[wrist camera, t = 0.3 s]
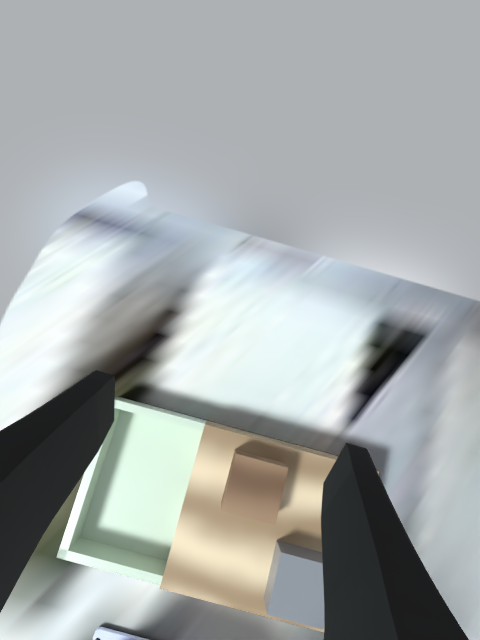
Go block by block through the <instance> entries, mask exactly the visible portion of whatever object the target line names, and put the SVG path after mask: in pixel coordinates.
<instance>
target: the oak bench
mask: <svg viewBox="0 0 480 640" xmlns="http://www.w3.org/2000/svg"><path fill="white" fill-rule="evenodd" d="M235 449H237V450H241V451H244V452H248V453H252V454H255V455H259V456H263V457H267V458H270V459H274V460H278V461H281V462H284V463H285V464H286V466H287V467H288V472H287V477H286V481H285V485H284V490H283V494H282V499H281V503H280V507H279V512H278V516H277V521H276V525H272V524H268V523H265V522H261V521H257V520H254V519H250V518H246V517H242V516H239V515H235V514H231V513H228V512H224V511H221V501H222V497H223V493H224V489H225V485H226V481H227V478H228V474H229V470H230V466H231V462H232V458H233V454H234V450H235ZM338 457H339V456H336V455H332V454H329V453H325V452H321V451H318V450H314V449H310V448H306V447H303V446H299V445H295V444H292V443H288V442H284V441H281V440H277V439H273V438H270V437H266V436H262V435H258V434H255V433H251V432H247V431H244V430H240V429H236V428H233V427H229V426H225V425H222V424H218V423H214V422H211V421H207V420H206V423H205V426H204V429H203V433H202V436H201V440H200V444H199V447H198V451H197V455H196V458H195V462H194V465H193V469H192V473H191V476H190V480H189V484H188V487H187V491H186V495H185V498H184V502H183V505H182V509H181V513H180V516H179V520H178V524H177V527H176V531H175V535H174V538H173V542H172V545H171V549H170V553H169V556H168V560H167V564H166V567H165V571H164V575H163V578H162V582H161V585H160V589H163V590H167V591H171V592H175V593H178V594H182V595H186V596H190V597H193V598H197V599H201V600H204V601H208V602H212V603H216V604H219V605H223V606H227V607H231V608H234V609H238V610H242V611H245V612H249V613H253V614H257V615H260V616H264V617H268V618H272V619H275V620H279V621H283V622H286V623H290V624H294V625H298V626H301V627H305V628H309V629H313V630H316V631H320V632H324V629H319V628H315V627H311V626H308V625H304V624H300V623H297V622H293V621H289V620H285V619H282V618H278V617H274V616H270V615H267V612H266V607H265V602H264V594H265V589H266V585H267V580H268V576H269V571H270V567H271V563H272V558H273V554H274V549H275V545H276V540H278V541H282V542H286V543H289V544H293V545H297V546H300V547H304V548H308V549H312V550H315V551H319V552H322V537H321V508H322V494H323V483H324V481H325V479H326V477H327V476H328V474H329V472H330V470H331V469H332V467H333V465H334V463H335V462H336V460H337V458H338ZM377 472H378V475H379V471H377ZM324 625H325V624H324Z"/></svg>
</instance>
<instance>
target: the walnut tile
mask: <svg viewBox="0 0 480 640" xmlns="http://www.w3.org/2000/svg"><path fill="white" fill-rule="evenodd" d="M287 472H288V467H287V466H286V464H285V463H284V462H281V461H278V460H274V459H270V458H267V457H263V456H259V455H255V454H252V453H248V452H244V451H241V450H237V449H235V450H234V454H233V458H232V462H231V466H230V470H229V474H228V478H227V481H226V485H225V489H224V493H223V497H222V501H221V511H224V512H228V513H231V514H235V515H239V516H242V517H246V518H250V519H254V520H257V521H261V522H265V523H268V524H272V525H276V521H277V516H278V512H279V507H280V503H281V499H282V494H283V490H284V485H285V481H286V477H287Z"/></svg>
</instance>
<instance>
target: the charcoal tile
mask: <svg viewBox="0 0 480 640" xmlns="http://www.w3.org/2000/svg"><path fill="white" fill-rule="evenodd" d="M264 602H265V607H266V612H267V615H270V616H274V617H278V618H282V619H285V620H289V621H293V622H297V623H300V624H304V625H308V626H311V627H315V628H319V629H324V585H323V561H322V552H319V551H315V550H312V549H308V548H304V547H300V546H297V545H293V544H289V543H286V542H282V541H278V540H276V545H275V549H274V554H273V558H272V563H271V567H270V571H269V576H268V580H267V585H266V589H265V594H264Z"/></svg>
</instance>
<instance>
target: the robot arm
mask: <svg viewBox="0 0 480 640" xmlns="http://www.w3.org/2000/svg"><path fill="white" fill-rule="evenodd" d="M114 403H115V376H114V375H111V374H107V373H104V372H100V371H97V370H96V371H94V372H92V373H90V374H89V375H87V376H86V377H84V378H83V379H81V380H80V381H79V382H77V383H76V384H74V385H73V386H71V387H70V388H68V389H67V390H65V391H64V392H62V393H61V394H59V395H58V396H56V397H55V398H53V399H52V400H50V401H49V402H47V403H45V404H44V405H42V406H41V407H39V408H37V409H36V410H34V411H33V412H31V413H30V414H28V415H26V416H25V417H23V418H22V419H20V420H18V421H16V422H15V423H13V424H11V425H10V426H8V427H6V428H4V429H3V430H1V431H0V612H1V610H2V609H3V607H4V605H5V603H6V601H7V599H8V597H9V595H10V594H11V592H12V590H13V588H14V586H15V584H16V582H17V581H18V579H19V577H20V575H21V573H22V571H23V569H24V568H25V566H26V564H27V562H28V561H29V559H30V557H31V555H32V553H33V552H34V550H35V548H36V546H37V544H38V543H39V541H40V539H41V537H42V535H43V534H44V532H45V531H46V529H47V527H48V526H49V524H50V523H51V521H52V519H53V518H54V517H55V515H56V514H57V512H58V511H59V509H60V508H61V506H62V505H63V503H64V502H65V500H66V499H67V497H68V496H69V494H70V493H71V491H72V490H73V488H74V487H75V485H76V484H77V482H78V481H79V480H80V478H81V477H82V475H83V474H84V472H85V471H86V469H87V468H88V466H89V465H90V463H91V462H92V460H93V459H94V457H95V456H96V454H97V453H98V451H99V449H100V447H101V445H102V443H103V442H104V440H105V438H106V436H107V434H108V432H109V430H110V428H111V426H112V424H113V422H114ZM321 537H322V561H323V585H324V624H325V625H324V640H469V639H468V638H467V636H466V635H465V633H464V632H463V630H462V629H461V627H460V626H459V624H458V622H457V621H456V619H455V618H454V616H453V614H452V613H451V611H450V610H449V608H448V606H447V605H446V603H445V601H444V600H443V598H442V596H441V595H440V593H439V591H438V590H437V588H436V586H435V585H434V583H433V581H432V579H431V578H430V576H429V574H428V572H427V571H426V569H425V567H424V565H423V563H422V561H421V560H420V558H419V556H418V554H417V552H416V551H415V549H414V547H413V545H412V543H411V541H410V539H409V537H408V535H407V533H406V531H405V529H404V527H403V525H402V523H401V521H400V519H399V517H398V515H397V513H396V511H395V509H394V507H393V505H392V503H391V501H390V499H389V496H388V494H387V492H386V490H385V488H384V486H383V483H382V481H381V479H380V477H379V475H378V472H377V470H376V468H375V466H374V463H373V461H372V459H371V457H370V454H369V452H368V450H367V449H365V448H362V447H358V446H355V445H352V444H348V443H346V444H345V446H344V448H343V450H342V451H341V453H340V455H339V457H338V458H337V460H336V462H335V463H334V465H333V467H332V469H331V470H330V472H329V474H328V476H327V477H326V479H325V481H324V483H323V494H322V508H321ZM96 638H100V640H149V639H146V638H142V637H138V636H134V635H131V634H127V633H123V632H119V631H116V630H112V629H108V628H104V627H99V628H97V630H96V632H95V634H94V637H93V640H97V639H96Z"/></svg>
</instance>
